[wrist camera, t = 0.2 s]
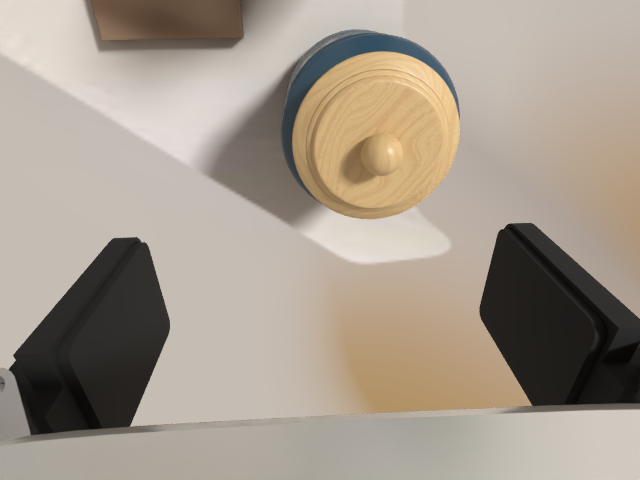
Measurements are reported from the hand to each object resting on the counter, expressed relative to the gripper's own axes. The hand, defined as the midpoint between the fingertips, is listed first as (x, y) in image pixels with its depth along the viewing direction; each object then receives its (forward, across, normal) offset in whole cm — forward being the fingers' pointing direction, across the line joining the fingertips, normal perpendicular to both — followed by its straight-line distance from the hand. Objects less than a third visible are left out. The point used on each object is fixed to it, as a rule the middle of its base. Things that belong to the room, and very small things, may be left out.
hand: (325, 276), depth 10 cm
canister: (+31, -4, +1) cm, 32 cm away
